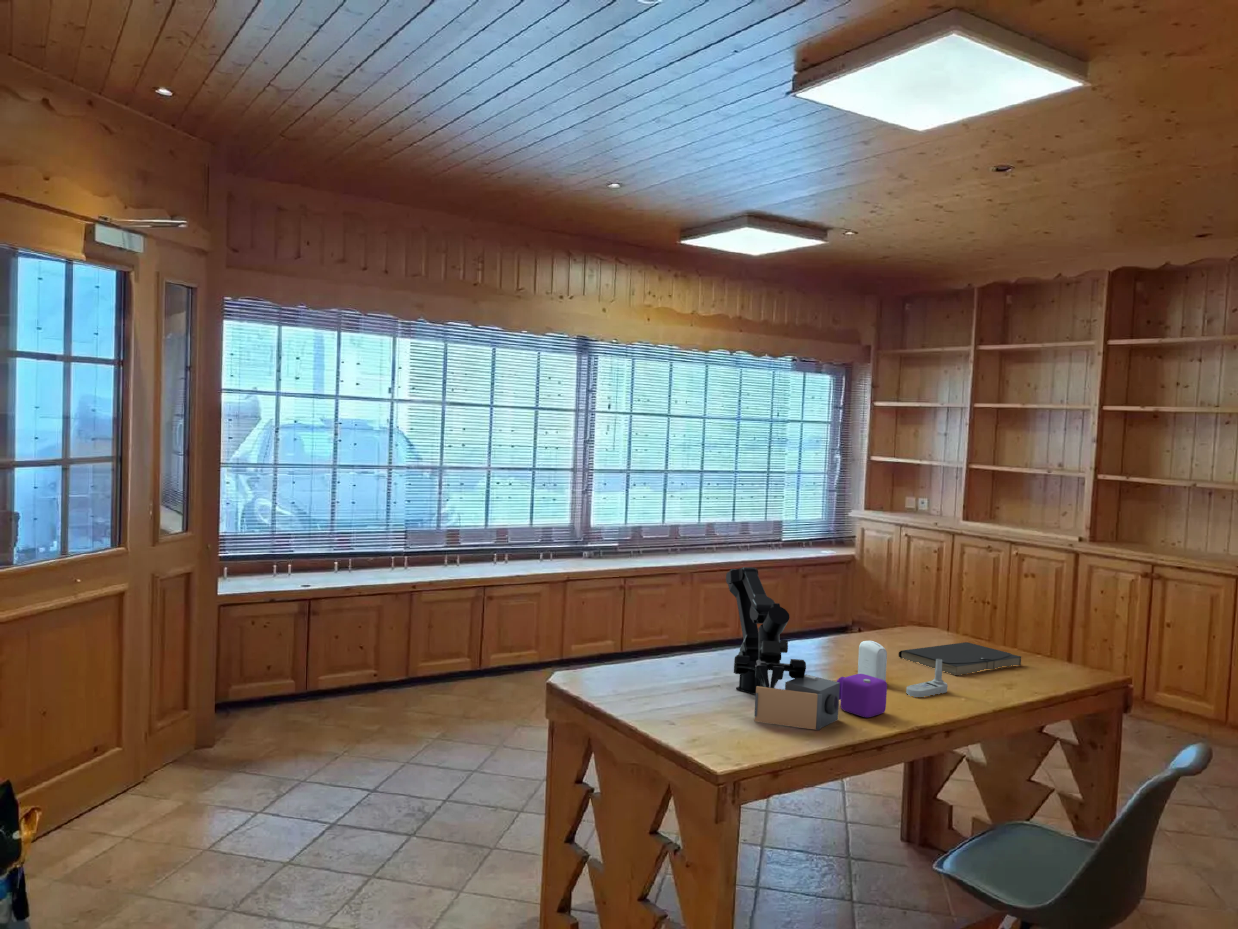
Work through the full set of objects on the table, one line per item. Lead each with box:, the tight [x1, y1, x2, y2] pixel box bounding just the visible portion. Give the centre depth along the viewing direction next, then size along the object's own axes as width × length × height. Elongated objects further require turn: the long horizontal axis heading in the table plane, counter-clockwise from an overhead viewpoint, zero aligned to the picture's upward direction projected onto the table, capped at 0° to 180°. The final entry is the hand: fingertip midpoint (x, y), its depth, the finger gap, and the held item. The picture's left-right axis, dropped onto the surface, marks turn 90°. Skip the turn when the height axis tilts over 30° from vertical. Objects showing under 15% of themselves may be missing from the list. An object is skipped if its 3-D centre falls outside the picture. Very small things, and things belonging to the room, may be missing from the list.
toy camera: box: [836, 673, 888, 719], centre depth 238 cm, size 11×14×10 cm
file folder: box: [898, 641, 1022, 676], centre depth 296 cm, size 33×4×24 cm
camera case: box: [784, 673, 840, 729], centre depth 228 cm, size 11×11×11 cm
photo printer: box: [857, 640, 888, 682], centre depth 267 cm, size 10×4×12 cm, turn 20°
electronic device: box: [905, 659, 948, 698], centre depth 258 cm, size 5×10×15 cm
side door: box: [754, 686, 822, 731], centre depth 223 cm, size 17×2×9 cm, turn 74°
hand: (769, 695), depth 226 cm, fingers closed
